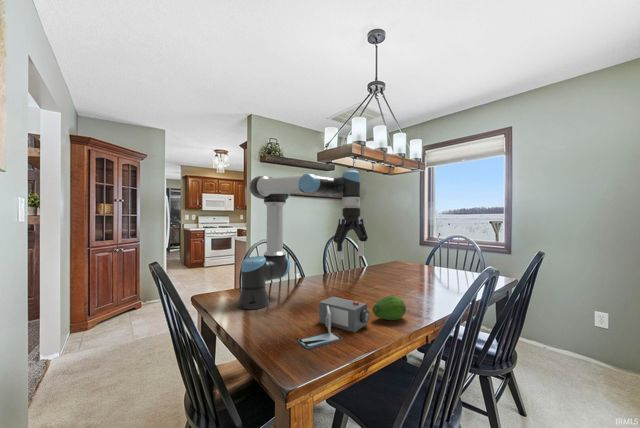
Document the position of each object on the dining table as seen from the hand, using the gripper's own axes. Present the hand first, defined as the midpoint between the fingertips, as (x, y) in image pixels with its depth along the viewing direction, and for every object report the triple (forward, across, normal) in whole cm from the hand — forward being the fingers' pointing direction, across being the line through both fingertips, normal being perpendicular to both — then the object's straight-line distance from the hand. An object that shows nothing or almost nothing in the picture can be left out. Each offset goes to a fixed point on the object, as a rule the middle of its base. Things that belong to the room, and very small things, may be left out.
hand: (351, 257), depth 119 cm
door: (+26, -14, 0) cm, 30 cm away
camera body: (+27, -5, +1) cm, 27 cm away
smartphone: (+27, -22, -4) cm, 36 cm away
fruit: (+27, +13, -10) cm, 32 cm away
